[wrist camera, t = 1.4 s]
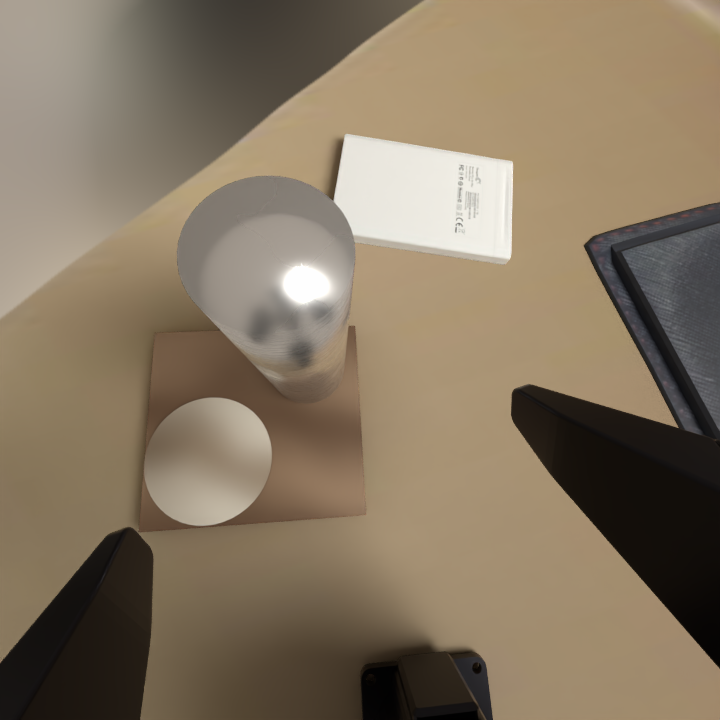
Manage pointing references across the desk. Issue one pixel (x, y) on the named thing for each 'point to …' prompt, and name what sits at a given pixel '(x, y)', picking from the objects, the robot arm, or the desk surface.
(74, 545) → the desk surface
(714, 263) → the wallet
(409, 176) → the external hard drive
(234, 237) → the steel pin
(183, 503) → the board
